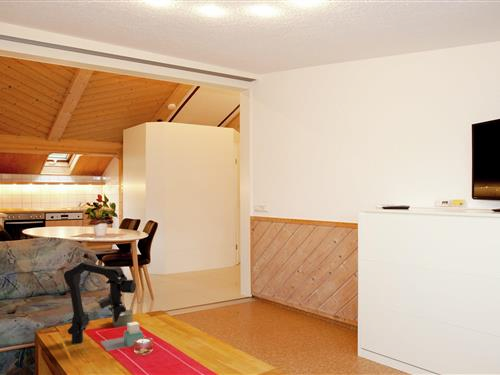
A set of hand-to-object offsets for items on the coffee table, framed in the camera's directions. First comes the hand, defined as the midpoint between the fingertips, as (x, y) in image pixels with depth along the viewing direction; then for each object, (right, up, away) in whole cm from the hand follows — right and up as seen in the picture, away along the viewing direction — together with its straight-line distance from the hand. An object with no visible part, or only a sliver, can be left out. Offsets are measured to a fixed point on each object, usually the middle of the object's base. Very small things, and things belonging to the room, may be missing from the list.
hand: (115, 321), depth 231 cm
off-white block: (+9, -6, +1) cm, 11 cm away
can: (-7, -13, +37) cm, 40 cm away
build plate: (+3, -12, +2) cm, 13 cm away
